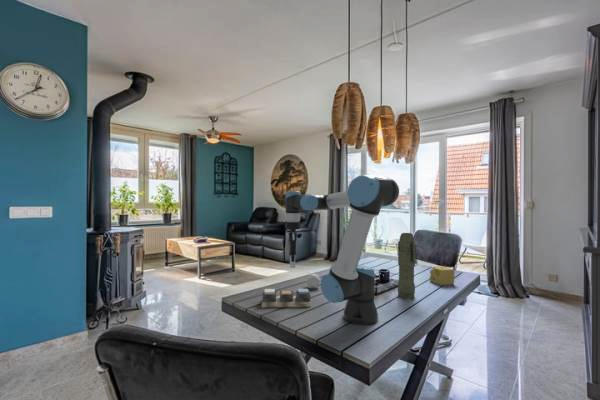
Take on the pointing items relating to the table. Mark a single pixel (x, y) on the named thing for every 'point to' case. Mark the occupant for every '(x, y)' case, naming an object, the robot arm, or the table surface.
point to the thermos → (406, 266)
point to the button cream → (269, 291)
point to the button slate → (303, 291)
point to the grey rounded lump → (313, 281)
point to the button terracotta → (286, 292)
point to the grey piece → (286, 300)
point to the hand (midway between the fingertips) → (292, 267)
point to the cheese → (442, 275)
